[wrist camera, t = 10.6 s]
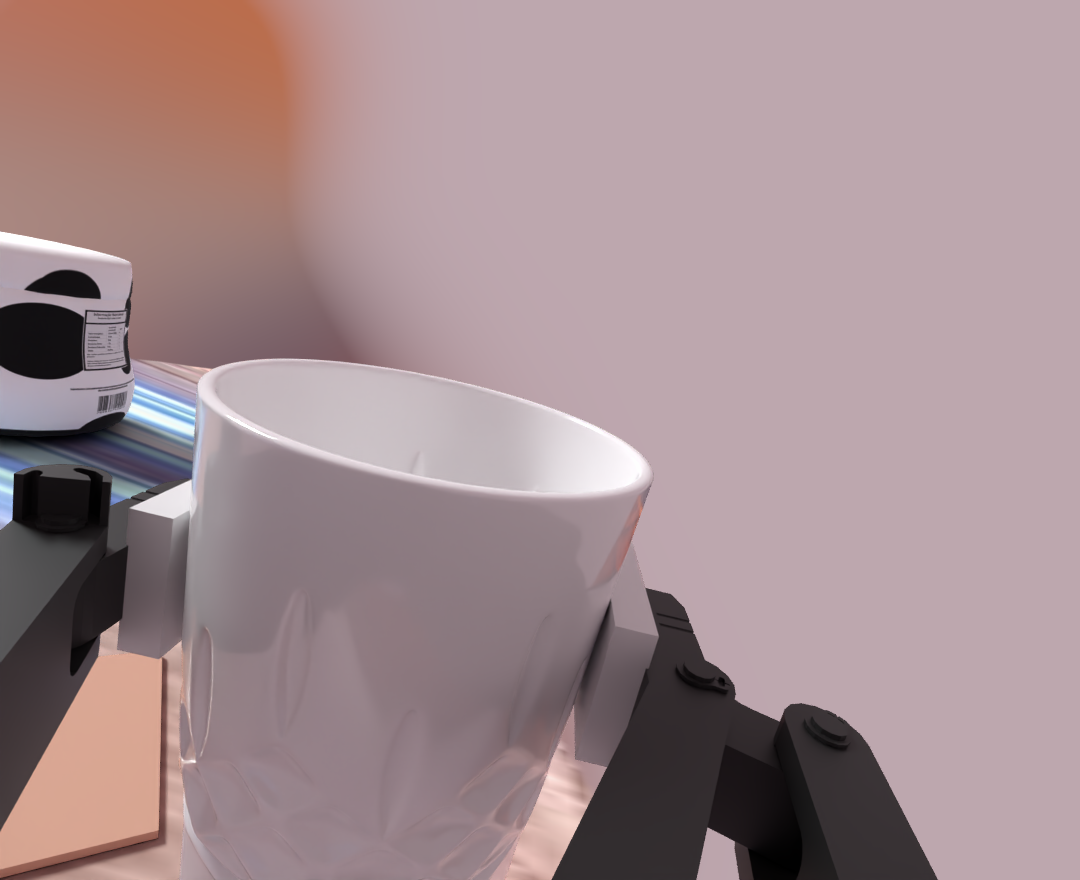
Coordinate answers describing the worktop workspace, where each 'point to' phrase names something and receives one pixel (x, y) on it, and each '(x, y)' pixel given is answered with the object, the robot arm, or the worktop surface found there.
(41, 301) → the milk container
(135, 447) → the worktop surface
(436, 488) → the white cup
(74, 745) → the coaster
